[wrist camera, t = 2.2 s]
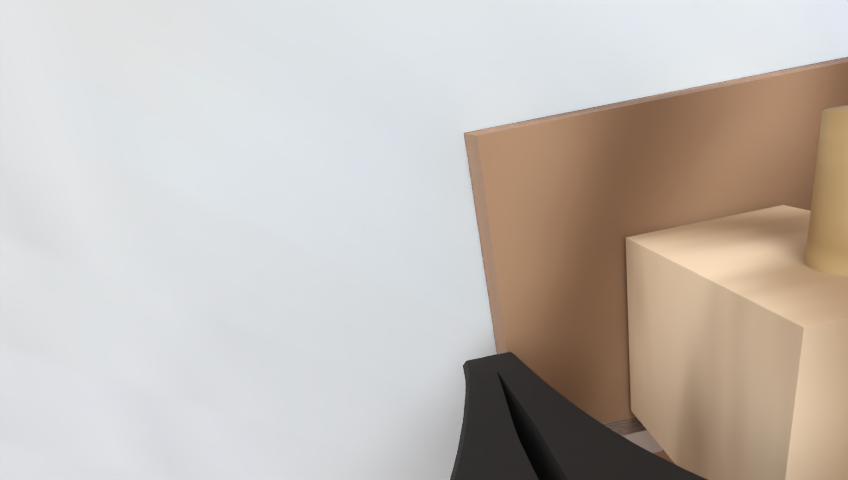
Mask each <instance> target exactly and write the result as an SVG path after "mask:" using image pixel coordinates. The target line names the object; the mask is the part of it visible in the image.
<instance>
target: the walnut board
mask: <svg viewBox="0 0 848 480" xmlns="http://www.w3.org/2000/svg"><path fill="white" fill-rule="evenodd" d="M845 105H848V57H845V58H840V59H835V60H830V61H825V62H820V63H815V64H810V65H805V66H800V67H795V68H790V69H785V70H780V71H774V72H769V73H764V74H759V75H754V76H749V77H744V78H739V79H734V80H729V81H724V82H719V83H714V84H709V85H704V86H699V87H694V88H689V89H684V90H679V91H674V92H669V93H663V94H658V95H653V96H648V97H643V98H638V99H633V100H628V101H623V102H618V103H613V104H608V105H603V106H598V107H593V108H588V109H583V110H578V111H573V112H568V113H563V114H557V115H552V116H547V117H542V118H537V119H532V120H527V121H522V122H517V123H512V124H507V125H502V126H497V127H492V128H487V129H482V130H477V131H472V132H467V133H464V137H465V143H466V150H467V157H468V163H469V170H470V177H471V183H472V190H473V197H474V203H475V210H476V217H477V223H478V230H479V236H480V243H481V250H482V256H483V263H484V270H485V276H486V283H487V290H488V296H489V303H490V310H491V316H492V323H493V330H494V336H495V343H496V349H497V354H502V353H506V352H512V353H513V354H515V355H516V356H517V357H518V358H519V359H520V360H521V361H522V362H523V363H524V364H525V365H527V366H528V367H529V368H530V369H531V370H532V371H533V372H534V373H536V374H537V375H538V376H539V377H540V378H541V379H543V380H544V381H545V382H546V383H547V384H549V385H550V386H551V387H552V388H554V389H555V390H556V391H558V392H559V393H560V394H561V395H563V396H564V397H565V398H566V399H568V400H569V401H570V402H572V403H573V404H574V405H576V406H577V407H579V408H580V409H581V410H583V411H584V412H586V413H587V414H589V415H590V416H591V417H593V418H594V419H596V420H597V421H599V422H600V423H602V424H605V423H610V422H614V421H619V420H623V419H628V418H632V417H636V416H635V415H634V414H633V412H632V411H631V392H630V361H629V329H628V297H627V265H626V237H631V236H635V235H640V234H645V233H650V232H655V231H659V230H664V229H669V228H674V227H679V226H684V225H688V224H693V223H698V222H703V221H708V220H713V219H717V218H722V217H727V216H732V215H737V214H741V213H746V212H751V211H756V210H761V209H766V208H770V207H775V206H780V205H786V206H791V207H795V208H800V209H804V210H809V211H811V203H812V195H813V186H814V178H815V169H816V161H817V152H818V143H819V135H820V126H821V118H822V111H823V110H825V109H828V108H833V107H839V106H845ZM653 454H655V455H657V456H659V457H661V458H663V459H665V460H667V461H669V462H671V463H673V464H675V463H674V462H673V461H672V459H671V458H670V457H669V456H668V455H667V453H666V452H665V451H660V452H656V453H653ZM675 465H676V464H675Z"/></svg>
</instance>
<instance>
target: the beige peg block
mask: <svg viewBox="0 0 848 480" xmlns="http://www.w3.org/2000/svg"><path fill="white" fill-rule="evenodd" d="M626 265H627V297H628V329H629V361H630V392H631V411H632V412H633V414H634V415H635V416H636V417H637V418H638V420H639V421H640V422H641V423H642V424H643V426H644V427H645V428H646V429H647V430H648V432H649V433H650V434H651V435H652V436H653V438H654V439H655V440H656V441H657V442H658V444H659V445H660V446H661V447H662V449H663V450H664V451H665V452H666V453H667V455H668V456H669V457H670V458H671V459H672V461H673V462H674V463H675V464H676V465H677V466H679V467H681V468H683V469H685V470H688V471H690V472H692V473H694V474H696V475H699V476H701V477H703V478H705V479H707V480H848V105H845V106H839V107H833V108H828V109H825V110H823V111H822V118H821V126H820V135H819V143H818V152H817V161H816V169H815V178H814V186H813V195H812V203H811V211H809V210H804V209H800V208H795V207H791V206H786V205H780V206H775V207H770V208H766V209H761V210H756V211H751V212H746V213H741V214H737V215H732V216H727V217H722V218H717V219H713V220H708V221H703V222H698V223H693V224H688V225H684V226H679V227H674V228H669V229H664V230H659V231H655V232H650V233H645V234H640V235H635V236H631V237H626Z"/></svg>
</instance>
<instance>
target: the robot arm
mask: <svg viewBox="0 0 848 480" xmlns="http://www.w3.org/2000/svg"><path fill="white" fill-rule="evenodd" d="M463 369H464V374H465V380H466V395H465V407H464V417H463V424H462V430H461V435H460V441H459V446H458V451H457V455H456V460H455V464H454V468H453V471H452V475H451V479H450V480H707V479H705V478H703V477H701V476H699V475H696V474H694V473H692V472H690V471H688V470H685V469H683V468H681V467H679V466H677V465H675V464H673V463H671V462H669V461H667V460H665V459H663V458H661V457H659V456H657V455H655V454H653V453H651V452H649V451H648V450H646V449H644V448H642V447H640V446H638V445H637V444H635V443H633V442H631V441H630V440H628V439H626V438H625V437H623V436H621V435H619V434H618V433H616V432H614V431H613V430H611V429H610V428H608V427H606V426H605V425H603V424H602V423H600V422H599V421H597V420H596V419H594V418H593V417H591V416H590V415H589V414H587V413H586V412H584V411H583V410H581V409H580V408H579V407H577V406H576V405H574V404H573V403H572V402H570V401H569V400H568V399H566V398H565V397H564V396H563V395H561V394H560V393H559V392H558V391H556V390H555V389H554V388H552V387H551V386H550V385H549V384H547V383H546V382H545V381H544V380H543V379H541V378H540V377H539V376H538V375H537V374H536V373H534V372H533V371H532V370H531V369H530V368H529V367H528V366H527V365H525V364H524V363H523V362H522V361H521V360H520V359H519V358H518V357H517V356H516V355H515V354H513V353H512V352H506V353H502V354H497V355H492V356H488V357H483V358H478V359H473V360H469V361H466V362H465V363H464V365H463Z"/></svg>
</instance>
